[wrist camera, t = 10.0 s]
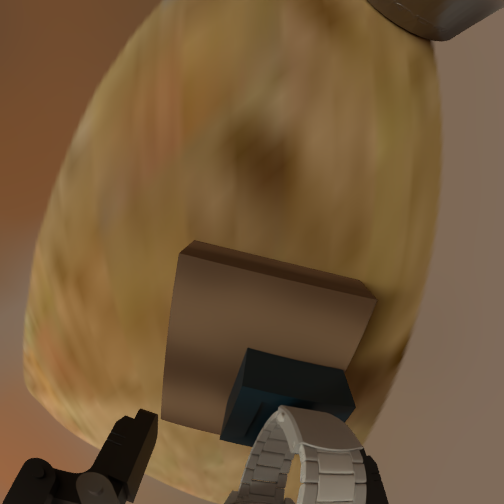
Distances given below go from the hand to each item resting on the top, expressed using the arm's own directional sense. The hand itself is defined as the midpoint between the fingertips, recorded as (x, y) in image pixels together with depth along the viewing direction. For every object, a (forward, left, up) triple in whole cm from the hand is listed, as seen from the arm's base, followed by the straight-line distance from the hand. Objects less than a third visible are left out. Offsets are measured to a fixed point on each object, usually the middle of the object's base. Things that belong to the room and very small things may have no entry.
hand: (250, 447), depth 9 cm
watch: (+1, +2, -5) cm, 6 cm away
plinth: (0, 0, -8) cm, 8 cm away
